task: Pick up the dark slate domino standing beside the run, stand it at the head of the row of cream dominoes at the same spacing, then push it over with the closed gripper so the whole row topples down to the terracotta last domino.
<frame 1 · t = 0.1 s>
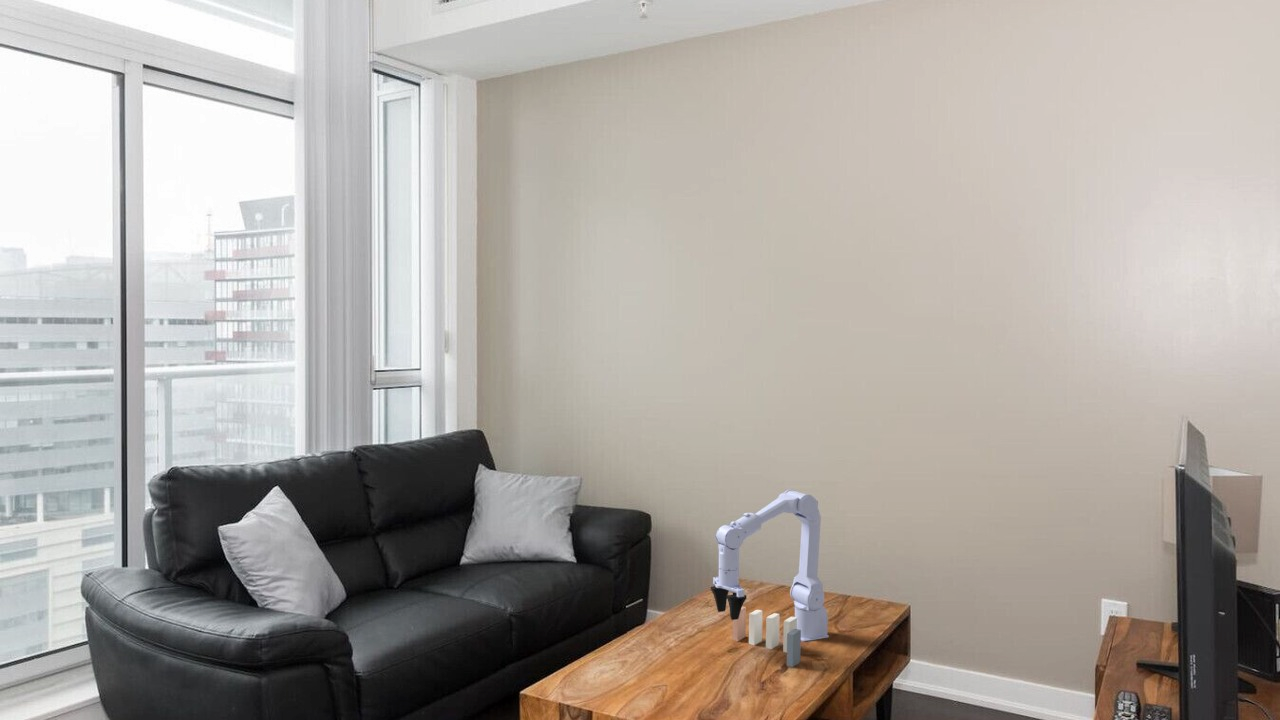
hand: (727, 615, 266), 10 cm above the table, tool pointing down, fingers open, 7 cm apart
last domino: (738, 638, 276), on the table
domino 3: (755, 642, 273), on the table
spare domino: (793, 663, 256), on the table
domino 2: (772, 646, 270), on the table
domino 1: (789, 650, 267), on the table
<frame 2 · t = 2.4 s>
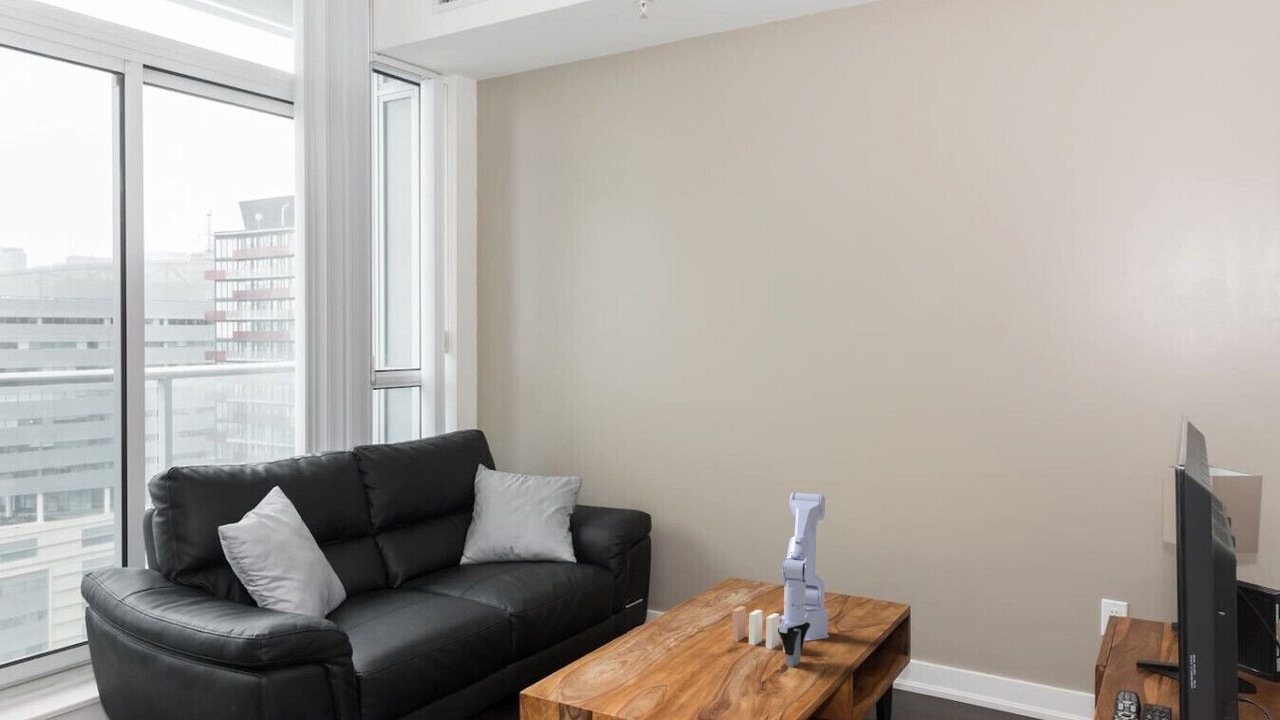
hand: (793, 651, 256), 3 cm above the table, tool pointing down, fingers closed on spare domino, 5 cm apart
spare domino: (793, 663, 256), on the table, touching gripper
everything else where it was.
when the fingers open (4 cm above the table, at t = 5.9 s): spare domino stays where it is, on the table.
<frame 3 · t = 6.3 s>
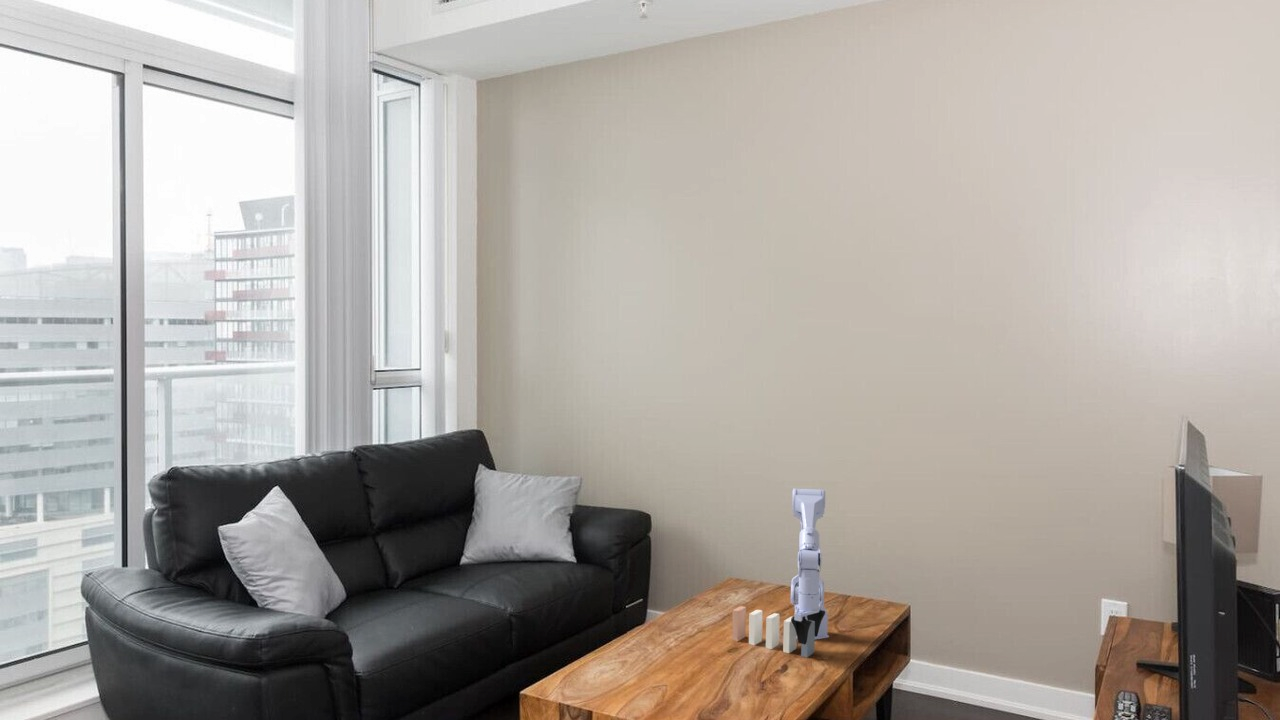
hand: (807, 639, 263), 4 cm above the table, tool pointing down, fingers open, 7 cm apart
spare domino: (807, 654, 264), on the table
everything else where it was.
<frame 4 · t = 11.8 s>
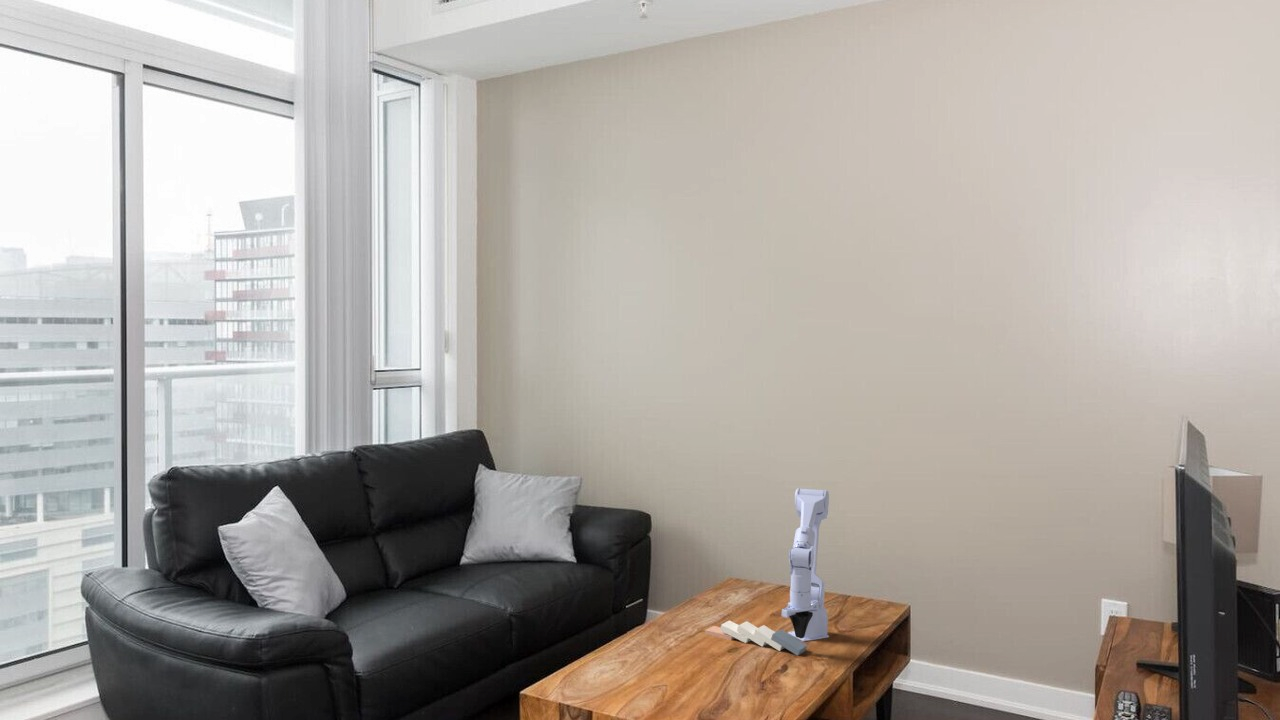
hand: (799, 637, 265), 4 cm above the table, tool pointing down, fingers closed
last domino: (735, 637, 277), on the table, tilted 90°
domino 3: (750, 638, 274), point 1 cm above the table, tilted 76°, touching domino 2
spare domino: (802, 650, 264), point 1 cm above the table, tilted 71°, touching domino 1
domino 2: (767, 641, 271), point 1 cm above the table, tilted 70°, touching domino 1, domino 3
domino 1: (784, 646, 268), point 1 cm above the table, tilted 71°, touching domino 2, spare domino
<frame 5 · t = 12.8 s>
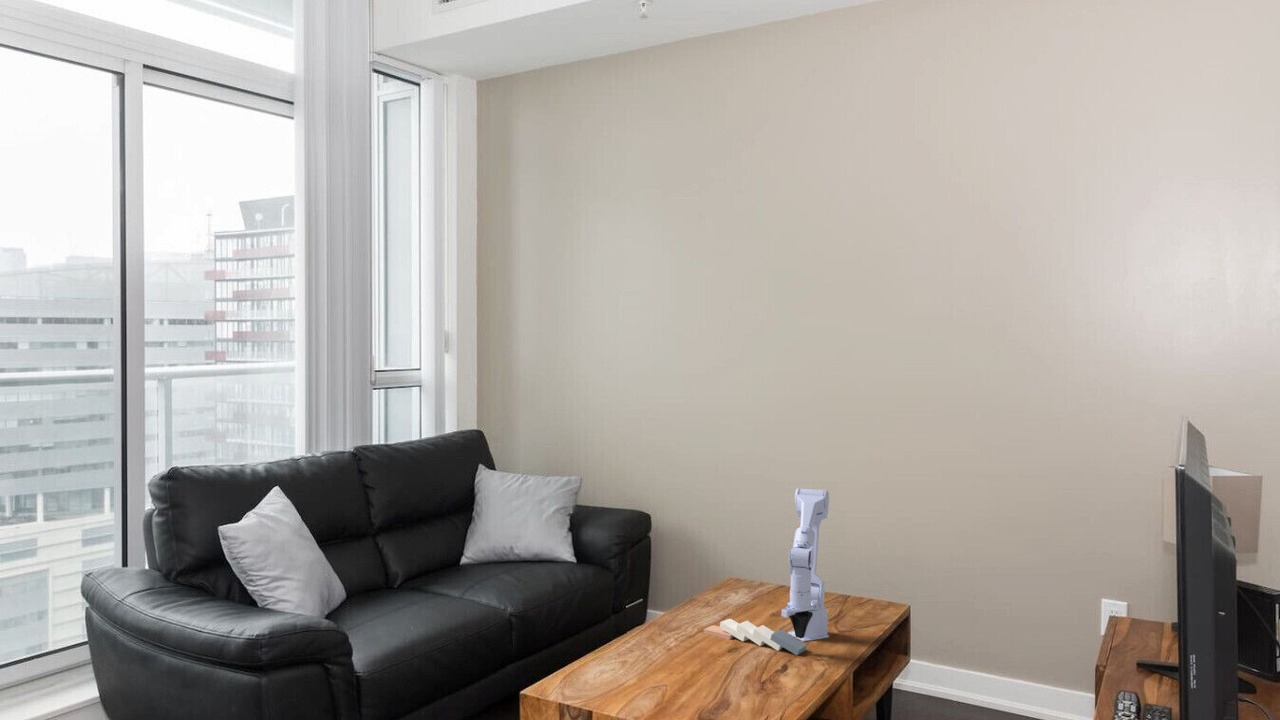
hand: (799, 637, 265), 4 cm above the table, tool pointing down, fingers closed
domino 3: (748, 636, 275), point 1 cm above the table, tilted 76°, touching domino 2
domino 2: (765, 641, 271), point 1 cm above the table, tilted 71°, touching domino 1, domino 3
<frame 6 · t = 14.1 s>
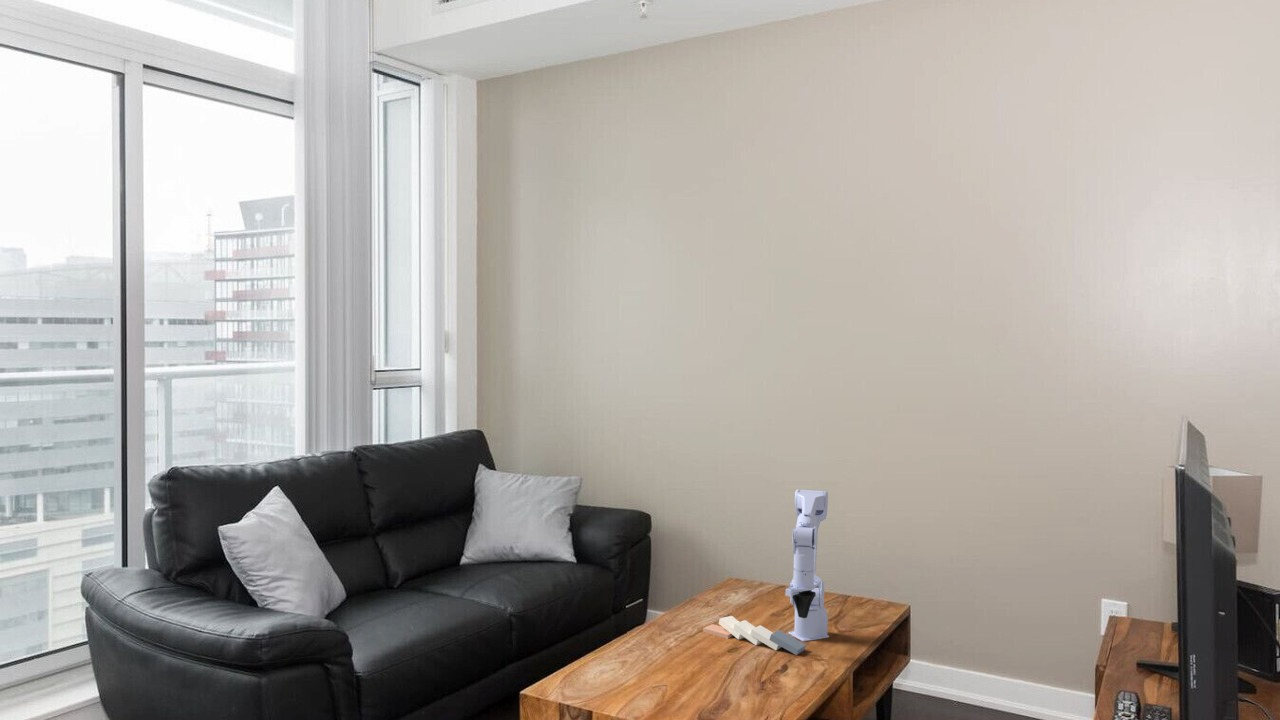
hand: (802, 617, 264), 10 cm above the table, tool pointing down, fingers closed
last domino: (732, 635, 278), on the table, tilted 90°, touching domino 3
domino 3: (745, 635, 276), point 1 cm above the table, tilted 74°, touching domino 2, last domino
domino 2: (762, 640, 272), point 1 cm above the table, tilted 72°, touching domino 1, domino 3
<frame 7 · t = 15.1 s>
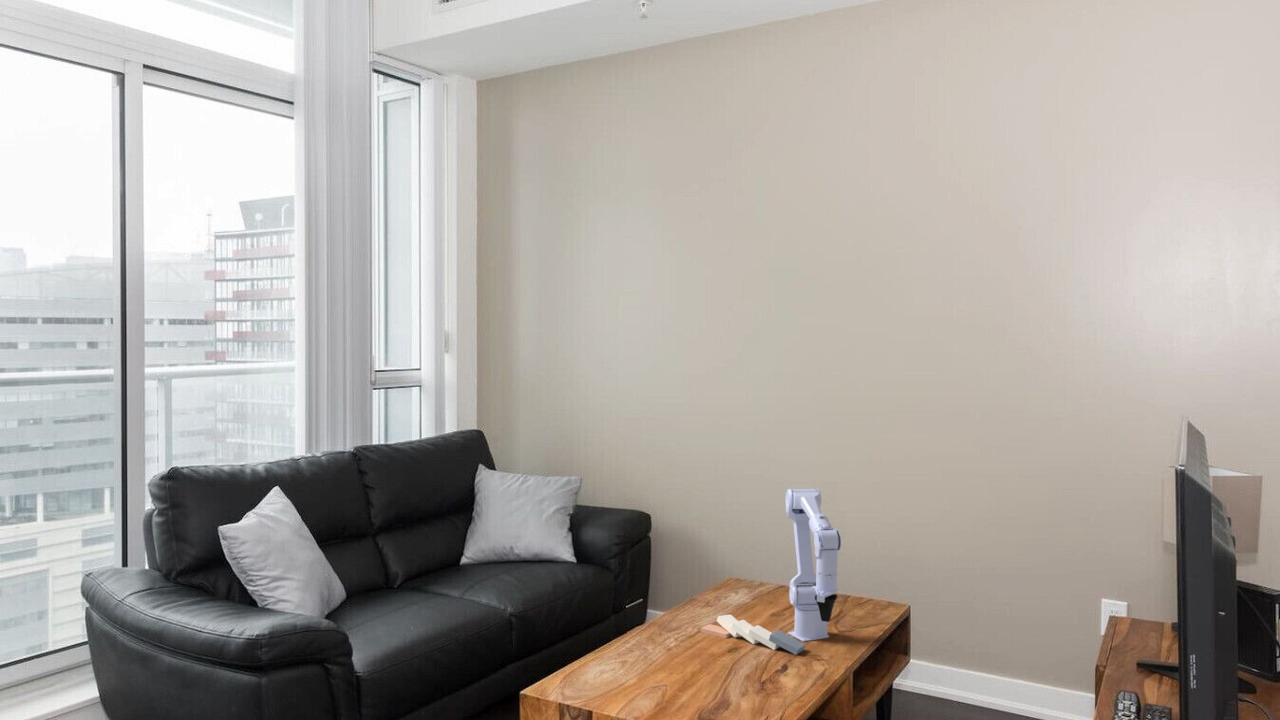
hand: (825, 620, 261), 10 cm above the table, tool pointing down, fingers closed
domino 3: (741, 633, 277), point 1 cm above the table, tilted 74°, touching domino 2, last domino
domino 2: (759, 639, 272), point 1 cm above the table, tilted 73°, touching domino 3
domino 1: (779, 645, 268), point 1 cm above the table, tilted 73°, touching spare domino
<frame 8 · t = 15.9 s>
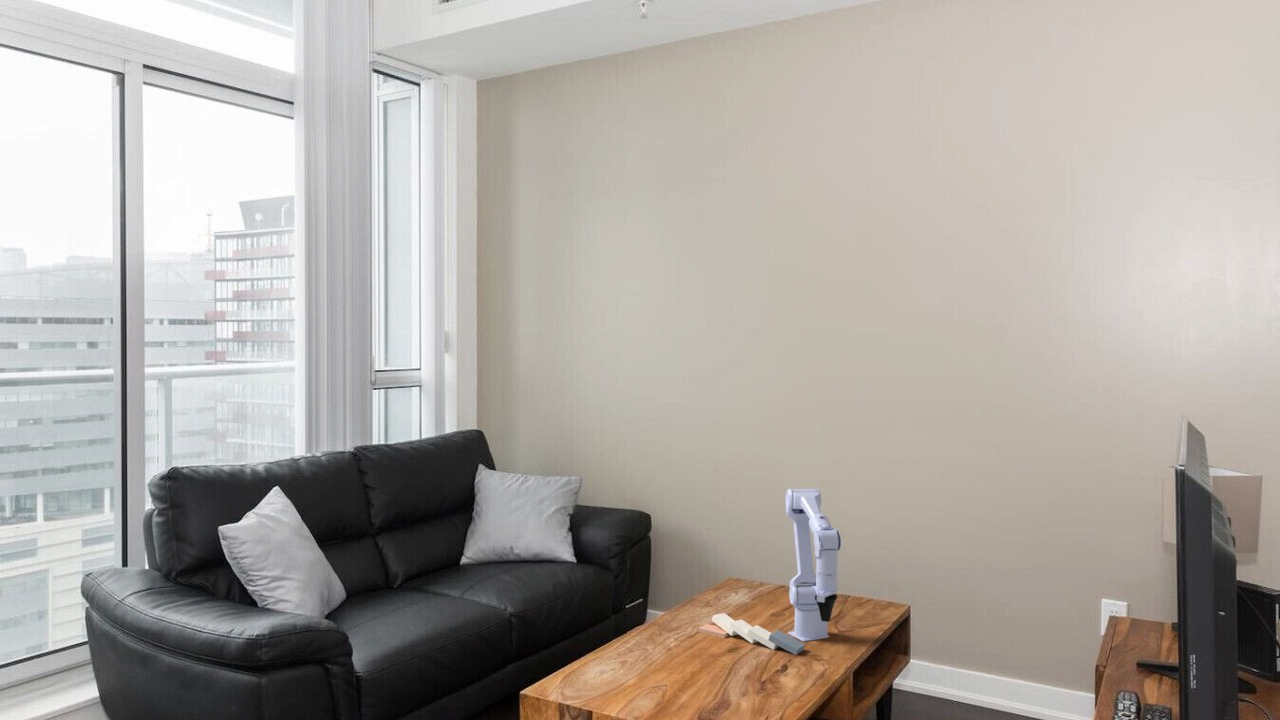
hand: (825, 620, 261), 10 cm above the table, tool pointing down, fingers closed
domino 3: (738, 631, 278), point 1 cm above the table, tilted 75°, touching last domino
domino 2: (758, 639, 273), point 1 cm above the table, tilted 73°, touching domino 1
domino 1: (778, 644, 269), point 1 cm above the table, tilted 73°, touching domino 2, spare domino
at the end: last domino tilted 90°; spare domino 2.0 cm from the target spot, point 0.8 cm above the table; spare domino tilted 74° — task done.
